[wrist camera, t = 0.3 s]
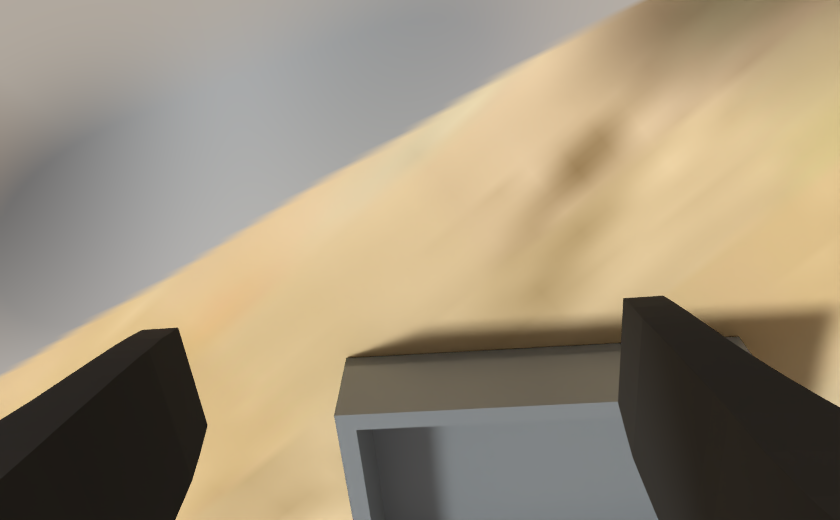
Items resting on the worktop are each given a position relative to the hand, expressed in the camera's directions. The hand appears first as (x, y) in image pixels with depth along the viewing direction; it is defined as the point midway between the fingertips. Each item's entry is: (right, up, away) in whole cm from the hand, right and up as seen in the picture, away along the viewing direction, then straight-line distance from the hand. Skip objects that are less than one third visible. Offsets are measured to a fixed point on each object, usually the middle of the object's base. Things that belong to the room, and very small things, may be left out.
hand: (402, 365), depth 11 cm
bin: (+5, -6, +14) cm, 16 cm away
